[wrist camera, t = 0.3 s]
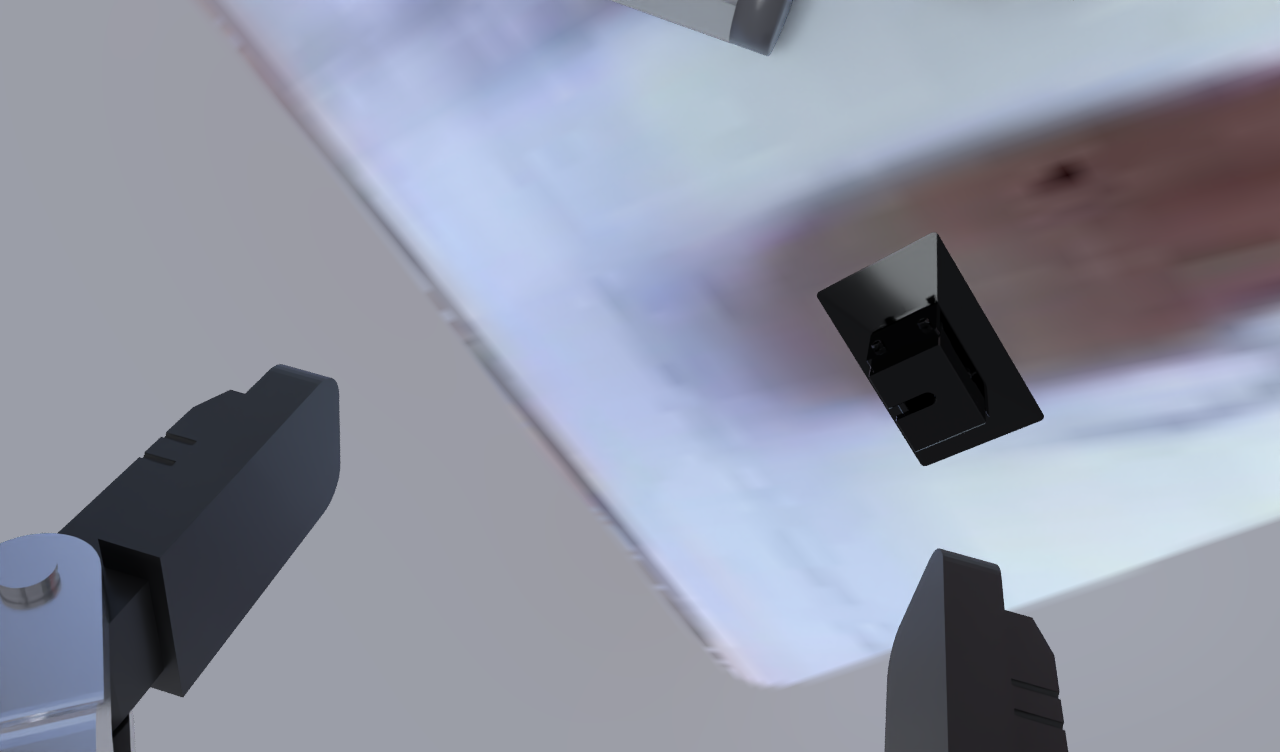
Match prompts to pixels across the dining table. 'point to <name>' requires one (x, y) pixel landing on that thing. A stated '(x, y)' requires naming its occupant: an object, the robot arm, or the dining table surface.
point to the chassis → (724, 18)
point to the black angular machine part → (930, 351)
